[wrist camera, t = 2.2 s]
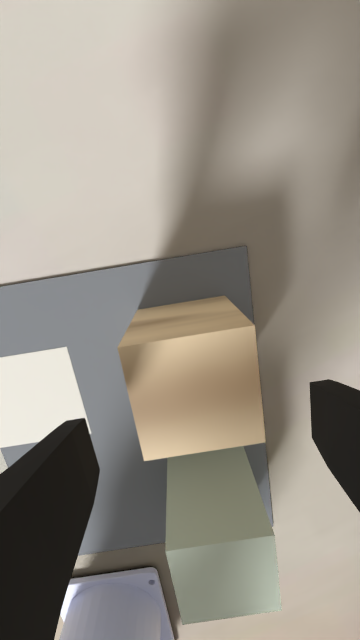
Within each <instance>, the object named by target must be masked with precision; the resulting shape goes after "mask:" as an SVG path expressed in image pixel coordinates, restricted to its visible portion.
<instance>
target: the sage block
mask: <svg viewBox="0 0 360 640" xmlns="http://www.w3.org/2000/svg"><path fill="white" fill-rule="evenodd" d="M165 552H166V556H167V561H168V565H169V569H170V573H171V578H172V582H173V586H174V590H175V595H176V599H177V603H178V608H179V612H180V616H181V620H182V625H185V624H191V623H198V622H205V621H212V620H219V619H226V618H233V617H240V616H247V615H254V614H261V613H268V612H275V611H282V609H281V598H280V587H279V577H278V566H277V555H276V545H275V535H274V532H273V529H272V526H271V524H270V521H269V518H268V515H267V512H266V509H265V506H264V504H263V501H262V498H261V495H260V492H259V489H258V486H257V484H256V481H255V478H254V475H253V472H252V469H251V466H250V464H249V461H248V458H247V455H246V452H245V449H244V446H239V447H233V448H226V449H220V450H213V451H207V452H200V453H194V454H187V455H181V456H174V457H168V458H167V499H166V543H165Z"/></svg>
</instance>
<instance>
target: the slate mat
mask: <svg viewBox="0 0 360 640" xmlns="http://www.w3.org/2000/svg"><path fill="white" fill-rule="evenodd" d="M218 296H226V297H227V298H228V299H229V300H230V301H231V302H232V303H233V304H234V305H235V306H236V307H237V308H238V309H239V310H240V311H241V312H242V313H243V314H244V315H245V316H246V317H247V318H248V319H249V320H250V321H251V322H252V323H253V324H254V319H253V308H252V298H251V287H250V276H249V266H248V255H247V246H242V247H236V248H230V249H224V250H218V251H212V252H206V253H200V254H194V255H188V256H182V257H176V258H170V259H164V260H158V261H152V262H146V263H140V264H134V265H128V266H122V267H116V268H109V269H103V270H97V271H91V272H85V273H79V274H73V275H67V276H61V277H55V278H49V279H43V280H37V281H31V282H25V283H19V284H13V285H7V286H1V287H0V449H1V451H2V454H3V456H4V459H5V461H6V464H7V466H8V468H9V467H10V466H11V465H12V464H14V463H15V462H16V461H17V460H18V459H20V458H21V457H22V456H23V455H24V454H26V453H27V452H28V451H29V450H30V449H32V448H33V447H34V446H35V445H36V444H37V443H39V442H40V441H41V440H42V439H43V438H45V437H46V436H47V435H48V434H49V433H51V432H52V431H53V430H54V429H56V428H57V427H58V426H60V425H61V424H62V423H64V422H65V421H67V420H74V419H80V418H85V420H86V423H87V426H88V430H89V433H90V437H91V440H92V444H93V447H94V451H95V454H96V457H97V461H98V464H99V468H100V474H99V479H98V485H97V491H96V496H95V501H94V505H93V508H92V512H91V515H90V518H89V521H88V525H87V528H86V531H85V534H84V538H83V541H82V544H81V547H80V550H79V553H78V555H85V554H92V553H98V552H105V551H112V550H118V549H125V548H132V547H139V546H145V545H152V544H159V543H165V542H166V499H167V458H161V459H155V460H149V461H144V459H143V454H142V450H141V446H140V442H139V437H138V433H137V429H136V425H135V420H134V416H133V412H132V408H131V403H130V399H129V395H128V391H127V386H126V382H125V378H124V374H123V369H122V365H121V361H120V357H119V352H118V348H117V347H118V345H119V343H120V342H121V340H122V338H123V336H124V334H125V332H126V330H127V328H128V326H129V325H130V323H131V321H132V319H133V317H134V315H135V313H136V311H137V310H139V309H145V308H151V307H157V306H163V305H170V304H176V303H182V302H188V301H194V300H200V299H206V298H212V297H218ZM244 449H245V452H246V455H247V458H248V461H249V464H250V466H251V469H252V472H253V475H254V478H255V481H256V484H257V486H258V489H259V492H260V495H261V498H262V501H263V504H264V506H265V509H266V512H267V515H268V518H269V521H270V524H271V526H272V527H273V519H272V508H271V498H270V487H269V477H268V466H267V456H266V445H265V443H259V444H252V445H246V446H244Z"/></svg>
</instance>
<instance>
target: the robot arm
mask: <svg viewBox="0 0 360 640" xmlns="http://www.w3.org/2000/svg"><path fill="white" fill-rule="evenodd" d="M310 402H311V426H312V438H313V440H314V442H315V444H316V446H317V448H318V450H319V452H320V454H321V455H322V457H323V459H324V461H325V463H326V464H327V466H328V468H329V469H330V471H331V472H332V474H333V475H334V477H335V478H336V479H337V481H338V482H339V484H340V485H341V487H342V488H343V489H344V491H345V492H346V494H347V495H348V497H349V498H350V499H351V501H352V502H353V504H354V505H355V506H356V508H357V509H358V511H359V512H360V391H359V390H357V389H354V388H352V387H349V386H347V385H344V384H341V383H339V382H336V381H333V380H322V381H316V382H310ZM99 474H100V468H99V464H98V461H97V457H96V454H95V451H94V447H93V444H92V440H91V437H90V433H89V430H88V426H87V423H86V420H85V418H80V419H74V420H67V421H65V422H64V423H62V424H61V425H60V426H58V427H57V428H56V429H54V430H53V431H52V432H51V433H49V434H48V435H47V436H46V437H45V438H43V439H42V440H41V441H40V442H39V443H37V444H36V445H35V446H34V447H33V448H32V449H30V450H29V451H28V452H27V453H26V454H24V455H23V456H22V457H21V458H20V459H18V460H17V461H16V462H15V463H14V464H12V465H11V466H10V467H9V468H8V469H6V470H5V471H4V472H3V473H1V474H0V640H54V637H55V633H56V629H57V624H58V620H59V616H60V614H61V616H62V619H63V621H64V625H63V628H62V632H61V635H60V639H59V640H175V639H174V635H173V631H172V627H171V623H170V619H169V615H168V611H167V607H166V603H165V599H164V596H163V592H162V588H161V584H160V580H159V576H158V572H157V570H156V569H155V568H153V567H148V568H141V569H135V570H128V571H121V572H114V573H107V574H101V575H94V576H87V577H80V578H74V579H71V576H72V572H73V569H74V566H75V563H76V560H77V557H78V553H79V550H80V547H81V544H82V541H83V538H84V534H85V531H86V528H87V525H88V521H89V518H90V515H91V512H92V508H93V505H94V501H95V496H96V491H97V485H98V479H99Z"/></svg>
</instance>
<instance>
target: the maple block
mask: <svg viewBox="0 0 360 640" xmlns="http://www.w3.org/2000/svg"><path fill="white" fill-rule="evenodd" d="M117 348H118V352H119V357H120V361H121V365H122V369H123V374H124V378H125V382H126V386H127V391H128V395H129V399H130V403H131V408H132V412H133V416H134V420H135V425H136V429H137V433H138V437H139V442H140V446H141V450H142V454H143V459H144V461H149V460H155V459H161V458H168V457H174V456H181V455H187V454H194V453H200V452H207V451H213V450H220V449H226V448H233V447H239V446H246V445H252V444H259V443H265V442H266V439H265V428H264V418H263V407H262V396H261V386H260V375H259V364H258V354H257V343H256V333H255V325H254V324H253V323H252V322H251V321H250V320H249V319H248V318H247V317H246V316H245V315H244V314H243V313H242V312H241V311H240V310H239V309H238V308H237V307H236V306H235V305H234V304H233V303H232V302H231V301H230V300H229V299H228V298H227V297H226V296H218V297H212V298H206V299H200V300H194V301H188V302H182V303H176V304H170V305H163V306H157V307H151V308H145V309H139V310H137V311H136V313H135V315H134V317H133V319H132V321H131V323H130V325H129V326H128V328H127V330H126V332H125V334H124V336H123V338H122V340H121V342H120V343H119V345H118V347H117Z"/></svg>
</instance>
